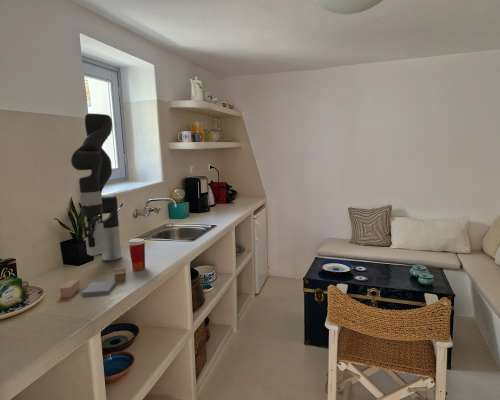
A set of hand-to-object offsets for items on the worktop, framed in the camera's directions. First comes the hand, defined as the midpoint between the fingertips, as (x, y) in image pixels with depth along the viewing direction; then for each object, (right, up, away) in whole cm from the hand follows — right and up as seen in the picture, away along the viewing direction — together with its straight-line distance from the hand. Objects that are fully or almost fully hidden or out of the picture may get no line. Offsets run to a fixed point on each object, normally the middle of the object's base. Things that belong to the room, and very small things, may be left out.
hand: (95, 244), depth 135 cm
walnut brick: (+5, -17, +14) cm, 23 cm away
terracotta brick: (-10, -20, +1) cm, 22 cm away
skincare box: (0, -4, +1) cm, 4 cm away
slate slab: (+1, -19, +3) cm, 20 cm away
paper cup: (+9, -15, +26) cm, 32 cm away
